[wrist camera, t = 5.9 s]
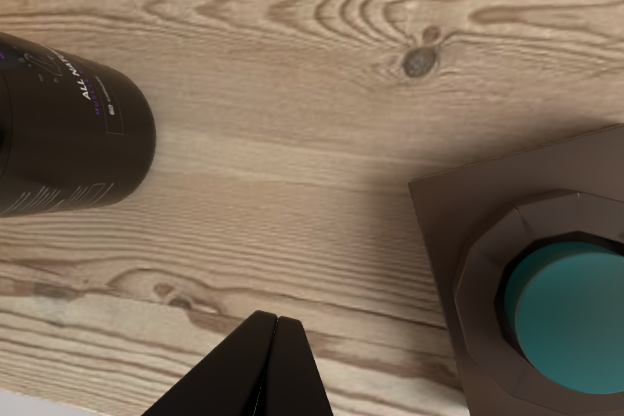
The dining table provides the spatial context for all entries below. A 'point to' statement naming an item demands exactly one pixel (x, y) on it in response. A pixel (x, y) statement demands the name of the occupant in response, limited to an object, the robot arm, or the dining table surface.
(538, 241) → the button housing
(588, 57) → the dining table surface
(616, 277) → the press top
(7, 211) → the supplement bottle
